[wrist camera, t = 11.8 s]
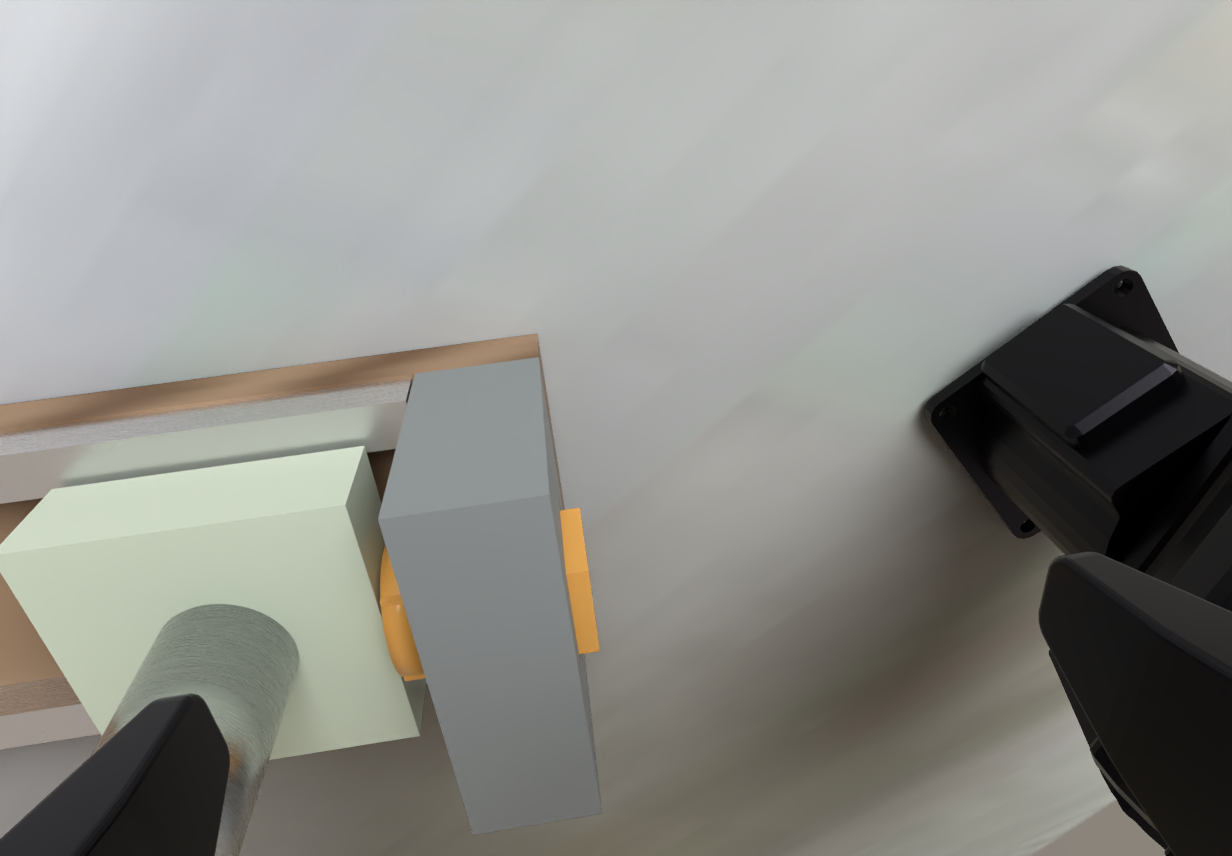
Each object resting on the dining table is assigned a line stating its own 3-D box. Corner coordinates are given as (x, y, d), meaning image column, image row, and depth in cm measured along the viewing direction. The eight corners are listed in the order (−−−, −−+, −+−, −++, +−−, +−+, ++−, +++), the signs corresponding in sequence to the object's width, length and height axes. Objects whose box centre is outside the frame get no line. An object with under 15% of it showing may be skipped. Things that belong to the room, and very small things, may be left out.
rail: (537, 333, 20) (549, 495, 14) (578, 597, 25) (602, 813, 18) (-405, 458, 19) (-883, 701, 12) (-184, 713, 23) (-451, 989, 17)
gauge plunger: (576, 485, 19) (587, 568, 16) (591, 585, 21) (603, 676, 18) (392, 511, 19) (372, 600, 16) (421, 610, 21) (407, 707, 18)
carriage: (364, 445, 18) (216, 900, 9) (428, 664, 21) (368, 1151, 12) (51, 489, 18) (-432, 1009, 9) (168, 704, 21) (-90, 1237, 12)
